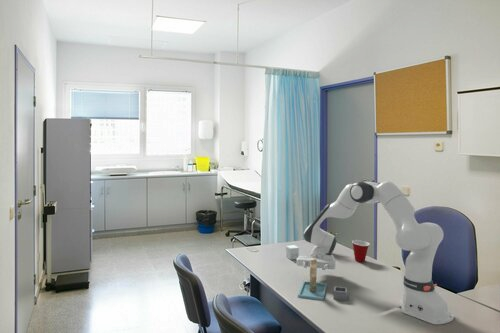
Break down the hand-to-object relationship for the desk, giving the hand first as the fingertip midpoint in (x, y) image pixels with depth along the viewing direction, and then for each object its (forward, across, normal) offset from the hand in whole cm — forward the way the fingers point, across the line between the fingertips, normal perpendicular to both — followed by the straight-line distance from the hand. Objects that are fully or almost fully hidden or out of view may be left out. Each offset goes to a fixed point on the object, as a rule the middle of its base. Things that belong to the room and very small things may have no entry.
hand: (314, 267), depth 196 cm
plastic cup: (-52, +23, +12) cm, 58 cm away
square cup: (+9, +14, +11) cm, 20 cm away
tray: (+6, 0, +11) cm, 12 cm away
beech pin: (+6, 0, +10) cm, 12 cm away
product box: (-45, -19, +12) cm, 50 cm away
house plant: (-60, +3, +12) cm, 61 cm away
